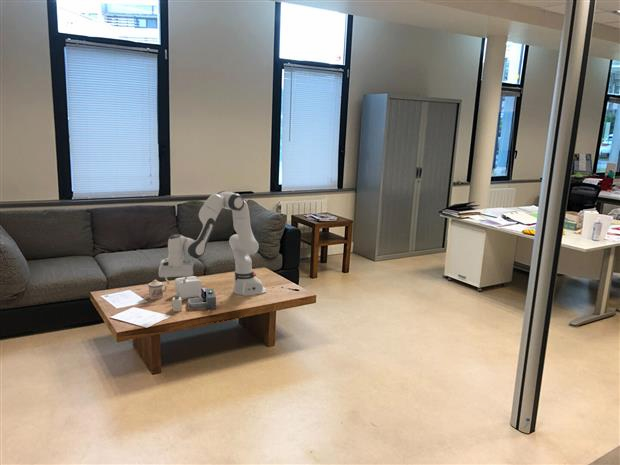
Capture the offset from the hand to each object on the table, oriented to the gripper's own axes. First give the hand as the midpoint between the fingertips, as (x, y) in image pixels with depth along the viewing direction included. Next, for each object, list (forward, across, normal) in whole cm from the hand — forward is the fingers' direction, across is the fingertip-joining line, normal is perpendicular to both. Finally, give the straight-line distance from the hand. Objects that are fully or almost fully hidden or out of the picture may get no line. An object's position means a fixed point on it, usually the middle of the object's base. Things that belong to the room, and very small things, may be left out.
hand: (176, 283), depth 295 cm
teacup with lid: (+17, +10, -25) cm, 32 cm away
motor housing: (+17, -15, -3) cm, 23 cm away
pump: (+17, 0, 0) cm, 17 cm away
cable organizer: (+17, -8, -23) cm, 30 cm away
